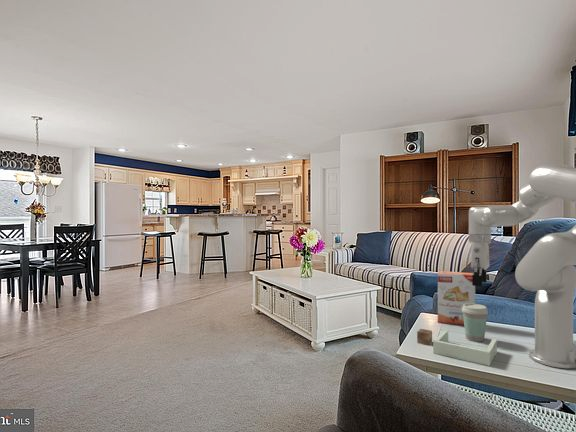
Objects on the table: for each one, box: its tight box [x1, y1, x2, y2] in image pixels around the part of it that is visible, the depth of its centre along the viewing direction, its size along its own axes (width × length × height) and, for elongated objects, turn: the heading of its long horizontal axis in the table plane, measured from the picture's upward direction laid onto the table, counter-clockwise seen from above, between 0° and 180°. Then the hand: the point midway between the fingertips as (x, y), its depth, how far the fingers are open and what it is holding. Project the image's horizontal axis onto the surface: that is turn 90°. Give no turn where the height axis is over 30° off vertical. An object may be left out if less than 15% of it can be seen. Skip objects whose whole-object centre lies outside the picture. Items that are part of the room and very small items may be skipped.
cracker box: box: [437, 270, 476, 326], centre depth 148 cm, size 14×6×21 cm, turn 67°
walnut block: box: [416, 328, 433, 346], centre depth 126 cm, size 4×4×4 cm
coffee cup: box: [462, 303, 489, 343], centre depth 129 cm, size 8×9×12 cm
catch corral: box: [432, 329, 498, 367], centre depth 117 cm, size 16×14×4 cm
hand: (479, 283), depth 137 cm, fingers open, 8 cm apart
